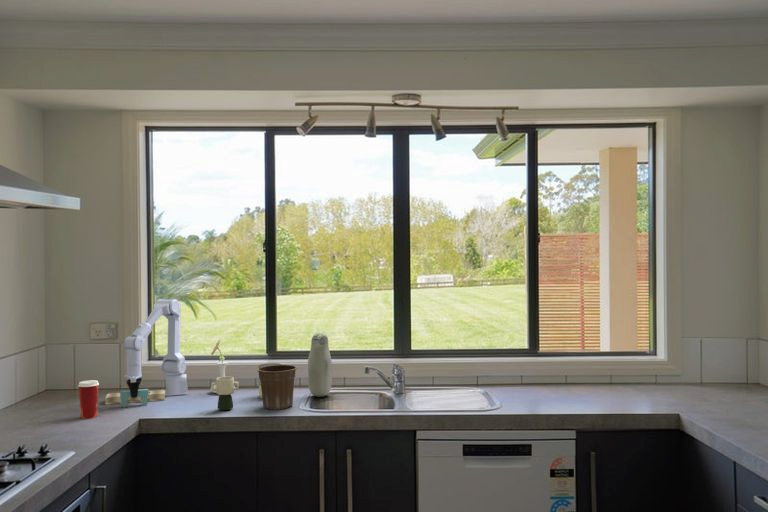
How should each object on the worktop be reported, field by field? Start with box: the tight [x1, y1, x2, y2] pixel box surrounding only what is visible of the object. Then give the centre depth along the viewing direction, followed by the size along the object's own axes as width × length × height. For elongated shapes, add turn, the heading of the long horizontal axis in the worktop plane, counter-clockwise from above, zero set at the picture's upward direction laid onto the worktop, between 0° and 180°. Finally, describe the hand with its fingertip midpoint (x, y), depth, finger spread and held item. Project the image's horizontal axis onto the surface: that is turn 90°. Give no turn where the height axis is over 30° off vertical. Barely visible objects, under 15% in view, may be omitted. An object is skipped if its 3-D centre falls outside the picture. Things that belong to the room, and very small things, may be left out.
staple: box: [119, 388, 149, 408], centre depth 274 cm, size 11×3×6 cm, turn 108°
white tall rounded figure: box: [307, 333, 333, 398], centre depth 287 cm, size 10×10×28 cm
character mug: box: [210, 376, 240, 411], centre depth 264 cm, size 11×7×13 cm, turn 102°
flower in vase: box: [209, 339, 236, 394], centre depth 298 cm, size 13×11×25 cm
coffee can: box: [257, 362, 282, 399], centre depth 289 cm, size 10×10×14 cm
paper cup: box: [77, 379, 100, 420], centre depth 255 cm, size 8×8×14 cm
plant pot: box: [256, 364, 297, 411], centre depth 269 cm, size 16×16×16 cm
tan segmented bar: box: [104, 389, 166, 406], centre depth 284 cm, size 24×9×3 cm, turn 108°
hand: (134, 396), depth 274 cm, fingers closed on staple, 3 cm apart
